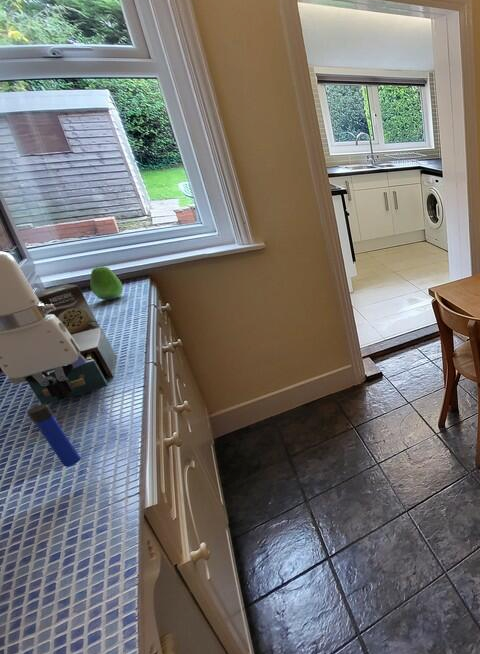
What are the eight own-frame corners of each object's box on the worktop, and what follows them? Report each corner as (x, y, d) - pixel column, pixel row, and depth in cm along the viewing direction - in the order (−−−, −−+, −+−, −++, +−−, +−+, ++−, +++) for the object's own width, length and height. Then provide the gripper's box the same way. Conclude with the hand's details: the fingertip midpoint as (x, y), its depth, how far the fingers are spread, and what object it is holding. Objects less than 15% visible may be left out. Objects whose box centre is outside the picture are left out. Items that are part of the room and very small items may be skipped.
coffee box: (66, 352, 111) (34, 298, 104) (53, 349, 113) (20, 295, 106) (106, 336, 118) (79, 285, 111) (93, 333, 120) (65, 283, 114)
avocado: (128, 298, 145) (113, 266, 140) (99, 305, 140) (82, 272, 135) (125, 292, 151) (111, 261, 145) (97, 299, 145) (80, 267, 140)
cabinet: (114, 377, 98) (97, 346, 95) (45, 398, 92) (24, 366, 88) (116, 355, 108) (101, 327, 104) (54, 373, 101) (36, 343, 98)
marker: (66, 468, 72) (30, 414, 67) (60, 464, 73) (23, 411, 68) (84, 459, 74) (49, 405, 69) (78, 455, 75) (43, 402, 70)
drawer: (106, 394, 90) (91, 368, 88) (39, 415, 85) (21, 388, 82) (110, 364, 102) (97, 340, 99) (52, 381, 96) (36, 356, 94)
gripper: (73, 300, 84) (114, 374, 92) (-38, 323, 76) (17, 403, 84) (68, 311, 79) (112, 389, 87) (-52, 338, 70) (8, 422, 78)
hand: (65, 396), depth 85 cm, fingers closed
